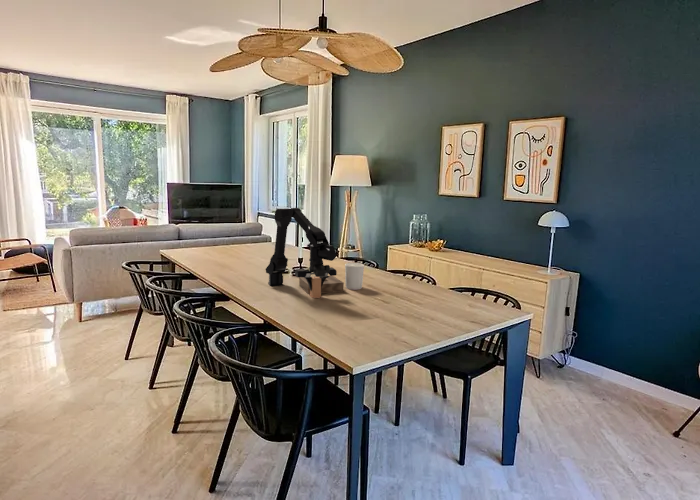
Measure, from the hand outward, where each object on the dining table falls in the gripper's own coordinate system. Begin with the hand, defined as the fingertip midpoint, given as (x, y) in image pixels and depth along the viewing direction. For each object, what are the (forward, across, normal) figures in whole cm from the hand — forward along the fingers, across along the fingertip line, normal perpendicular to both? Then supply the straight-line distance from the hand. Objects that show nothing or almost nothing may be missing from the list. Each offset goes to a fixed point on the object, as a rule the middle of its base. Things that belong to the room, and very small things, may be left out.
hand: (315, 290), depth 204 cm
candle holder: (+3, +24, +11) cm, 27 cm away
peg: (+3, 0, 0) cm, 3 cm away
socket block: (+3, +7, +13) cm, 15 cm away
